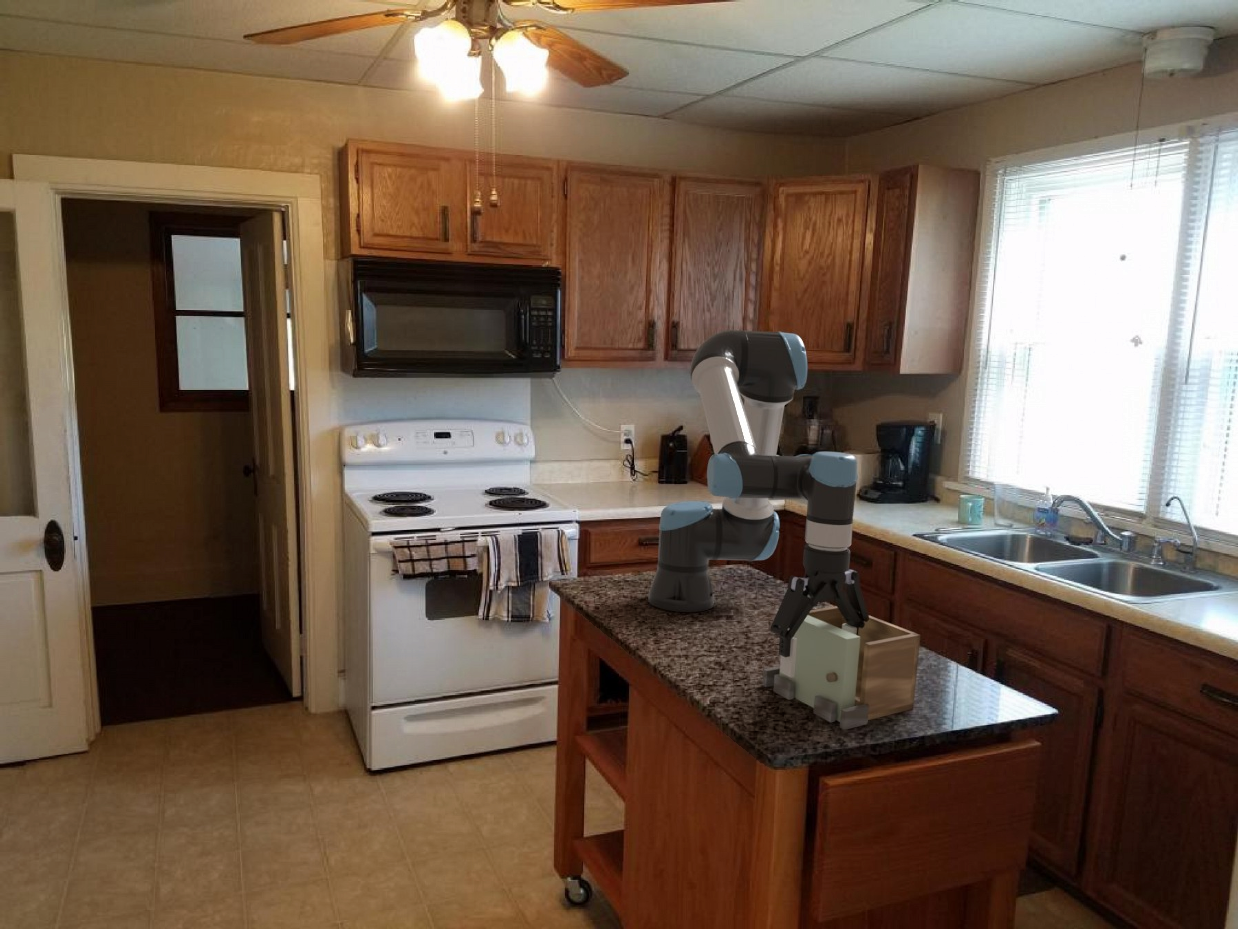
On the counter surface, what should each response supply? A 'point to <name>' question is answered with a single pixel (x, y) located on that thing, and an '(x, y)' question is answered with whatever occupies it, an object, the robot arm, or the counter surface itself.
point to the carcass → (867, 672)
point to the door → (825, 664)
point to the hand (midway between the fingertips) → (817, 668)
